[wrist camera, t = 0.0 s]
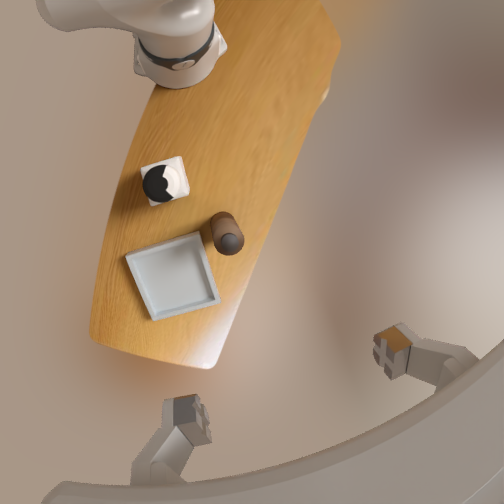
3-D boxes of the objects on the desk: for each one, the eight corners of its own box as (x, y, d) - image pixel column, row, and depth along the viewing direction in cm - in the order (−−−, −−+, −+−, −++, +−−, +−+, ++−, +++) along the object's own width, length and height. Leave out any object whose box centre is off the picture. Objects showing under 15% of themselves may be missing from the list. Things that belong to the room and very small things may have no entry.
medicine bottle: (156, 200, 53) (145, 212, 42) (146, 166, 51) (133, 169, 40) (190, 190, 54) (188, 199, 43) (181, 155, 52) (176, 155, 40)
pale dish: (127, 252, 56) (125, 256, 53) (199, 230, 57) (199, 233, 55) (154, 315, 62) (153, 321, 59) (220, 297, 63) (221, 302, 61)
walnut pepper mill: (207, 215, 56) (210, 233, 44) (231, 208, 57) (241, 224, 44) (214, 238, 58) (219, 262, 46) (237, 231, 59) (248, 253, 46)
